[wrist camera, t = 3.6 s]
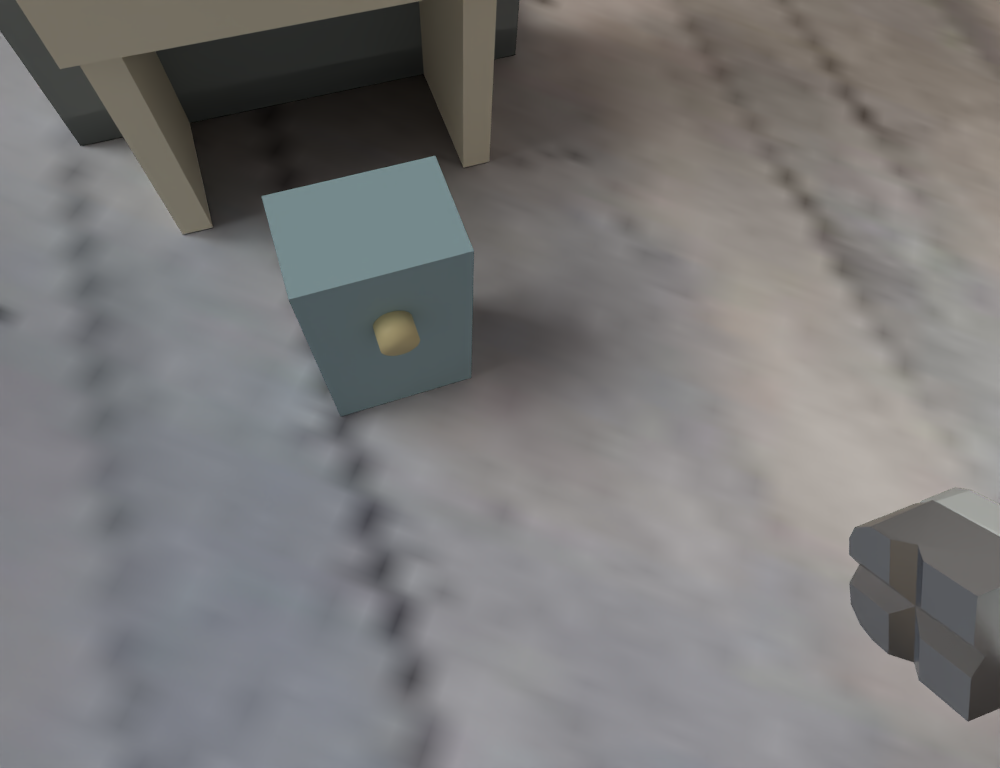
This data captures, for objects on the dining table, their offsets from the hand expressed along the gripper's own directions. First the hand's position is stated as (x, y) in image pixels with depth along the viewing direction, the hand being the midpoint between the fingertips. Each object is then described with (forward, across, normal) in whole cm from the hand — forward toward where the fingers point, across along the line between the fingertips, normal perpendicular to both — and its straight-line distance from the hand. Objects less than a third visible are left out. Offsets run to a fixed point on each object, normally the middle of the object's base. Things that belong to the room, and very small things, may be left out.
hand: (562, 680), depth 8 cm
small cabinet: (+19, 0, -2) cm, 19 cm away
